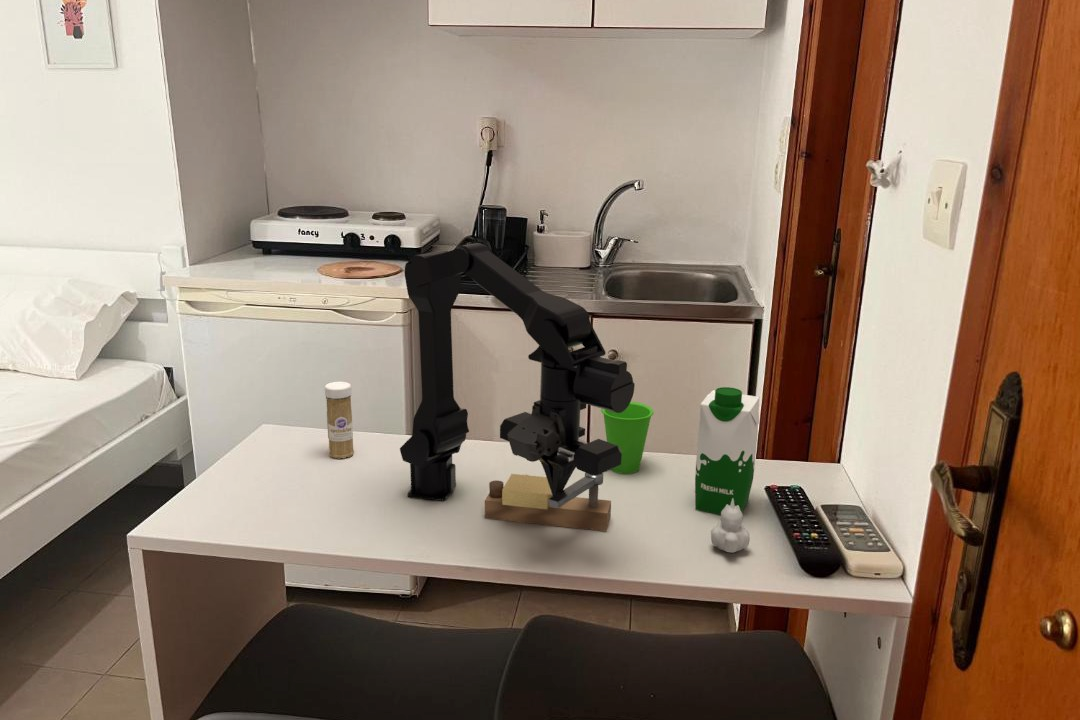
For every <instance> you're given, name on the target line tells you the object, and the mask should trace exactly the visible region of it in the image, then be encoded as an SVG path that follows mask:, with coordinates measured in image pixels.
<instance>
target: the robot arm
mask: <svg viewBox="0 0 1080 720" xmlns="http://www.w3.org/2000/svg"><path fill="white" fill-rule="evenodd" d="M466 276H467V277H468V278H470V279H471V280H472V281H473V282H475V283H476V284H477V285H478V286H480V287H481V288H482V289H484V290H485V291H486V292H488V293H489V294H490V295H491V296H493V297H494V298H496V300H498V301H499V302H500V303H501V304H503V305H505V307H506V308H508V309H509V310H511V311H512V313H514V314H516V315H517V316H518V318H520V319H521V320H522V322H523V325H524V329H525V331H526V332H527V334H528V336H530V337H531V339H532V340H533V341H534V342H535V343H536V344H537V345H538V347H537V348H536V349H535V350H533V351H532V352H531V353H530V354H528V355H527V358H528V360H529V361H534V362H538V363H540V390H539V391H540V393H539V400H536V401H533V405H532V408H531V410H532V411H531V413H530V412H527V411H523V412H520V413H518V414H515V415H512V416H509V417H505V418H504V419H503V421H502V422H501V423H500V426H499V439H502V440H505V441H507V442H509V445H510V450H511V453H512V455H514V456H516V457H520V458H523V459H525V460H527V461H529V462H532V463H534V462H537V461H539V462H540V464H541V466H542V468H543V472H544V473H545V477H547V480H548V483H549V486H550V489H551V492H552V495H553V496H554V495H556V494H557V493H559V492H561V491H562V490H564V489H565V488H566V486H567V484H568V482H569V480H570V478H571V476H572V474H573V473H574V471H575V469H577V470H578V471H581V472H583V473H584V474H585V473H588V474H590V475H599V474H601V473H603V474H604V473H605V472H608V471H609V470H612V468H614V467H617V466H619V465H621V458H622V452H621V449H620V448H619V447H618V446H617V445H614V444H612V443H609V442H607V440H603V439H600V438H597V439H594V440H592V441H590V442H587V441H586V440H582V439H580V438H581V437H583V436H585V435H586V428H584V427H582V426H580V423H581V422H580V420H581V411H582V410H585V409H587V405H588V406H592V407H595V408H599V409H605V410H609V411H612V412H616V413H621V412H623V411H624V410H626V408H627V407H628V406H629V404H630V402H632V399H633V396H634V393H635V385H636V384H635V382H634V378H633V376H632V374H631V372H630V371H628V362H627V361H624V360H620V359H619V360H618V359H616V360H615V359H610V358H605V357H603V356H606V353H607V352H606V350H605V348H604V347H603V344H602V343H601V340H600V339H599V337H598V335H597V333H596V331H595V329H594V327H593V325H592V322H591V319H590V318H591V315H590V314H589V312H588V310H586V309H585V308H584V306H582V305H580V304H577V303H576V302H574V301H571V300H569V299H567V298H566V297H563V296H562V297H561V296H559V295H555V294H550V293H548V292H546V291H544V290H542V289H541V288H540V287H538V286H537V285H535V284H534V283H533V282H531V281H530V280H529V279H528V278H526V277H525V276H523V275H522V274H521V273H519V272H518V271H517V270H516V269H514V268H513V267H511V266H510V265H509V264H507V263H506V262H504V261H503V259H501V258H500V257H498V256H497V255H495V253H493V252H491V250H490V248H489V247H488V245H485V244H483V243H480V242H479V243H477V242H476V243H470V244H463V245H460V246H457V247H456V248H454V249H451V250H441V251H440V250H439V251H435V252H429V253H427V252H426V253H422V254H415V255H413V256H411V257H410V258H409V260H408V261H406V263H405V266H404V279H405V280H404V281H405V285H406V290H407V296H408V297H409V299H410V300H411V302H412V303H413V305H414V307H415V308H416V309H417V313H418V329H419V352H420V355H419V356H420V372H421V373H420V378H421V396H422V397H421V402H420V403H419V406H418V408H417V410H416V412H415V414H414V417H413V422H412V423H413V424H412V432H411V433H412V435H411V436H410V437H409V438H408V439H407V440H406V441H405V442H404V443H403V445H401V446H400V448H399V451H400V456H401V459H402V461H403V462H405V463H407V464H409V468H410V469H409V470H410V471H409V473H410V489H409V490H408V492H407V497H408V498H415V499H424V500H434V501H446V500H447V498H448V497H449V496H450V494H451V493H452V492H453V491H454V490H455V488H456V486H457V482H456V480H457V478H456V477H457V476H456V475H457V474H456V472H457V471H456V464H455V463H453V455H454V454H458V453H460V450H461V447H462V444H463V443H464V442H465V440H466V439H467V434H468V433H470V430H469V426H468V415H469V412H468V410H467V409H466V408H461V407H460V405H459V404H458V401H456V399H455V396H454V372H453V371H454V366H453V365H454V364H453V339H452V338H453V337H452V335H453V334H452V333H453V332H452V308H453V307H454V304H455V302H456V300H457V298H458V296H459V294H460V292H461V282H462V277H466ZM580 345H582V346H583V347H581V348H578V349H575V350H572V351H570V350H569V349H571V348H574V347H577V346H580Z"/></svg>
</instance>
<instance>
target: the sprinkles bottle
mask: <svg viewBox="0 0 1080 720" xmlns="http://www.w3.org/2000/svg"><path fill="white" fill-rule="evenodd" d="M351 385H352V384H351V383H349V382H346V381H333V382H329V383H327V384H325V386H324V396H325V400H326V421H327V422H326V423H327V424H326V425H327V438H328V448H329V451H328V456H330V457H331V458H332V457H333V458H332V459H336V458H343V459H347V458H346V457H348V458H350V457H352V456H353V455H354V453H355V451H354V431H353V428H354V426H353V412H352V400H351V399H352V397H351V396H352V386H351Z"/></svg>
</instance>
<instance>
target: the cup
mask: <svg viewBox="0 0 1080 720" xmlns="http://www.w3.org/2000/svg"><path fill="white" fill-rule="evenodd" d="M600 409H601V410H600V412H601V413H602V414H603V419H604V428H605V429H604V430H605V435H606V442H609V443H612V444H614V445H617V446H618V447H619V448H620V449H621V452H622V458H621V465H619V466H617V467H614V468H612V469H611V470H612V471H613V472H615V473H617V474H622V475H632V474H635V473H637V472H638V471H639V469H640V468H641V463H642V458H643V455H644V450H645V445H646V440H647V436H648V431H649V426H650V423H651V417H652V416H653V415H654V410H653V408H652V407H651V406H649V405H646V404H644V403H640V402H635V401H631V402H630V404H629V406H628V407H627V408H626V410H624V411H623V412H621V413H616V412H612V411H609V410H605V409H602V408H600Z"/></svg>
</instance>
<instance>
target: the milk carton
mask: <svg viewBox="0 0 1080 720" xmlns="http://www.w3.org/2000/svg"><path fill="white" fill-rule="evenodd" d="M699 406H700V407H699V420H698V432H697V444H696V445H697V446H696V447H697V449H696V462H695V473H694V475H695V476H694V488H695V489H694V493H695V494H694V495H695V496H694V497H695V500H694V503H695V510H697V511H701V512H707V513H712V514H716V515H720V516H721V512H722V510H723V509H724V508H725V506H726V505H727V504H728V505H729V506H730V504H731V501H732V499H733V500H734V505H735V506H737V505H738V506H739V508H740V510H741V512H742V513H743V511H744V509H745V507H746V505H747V504H748V502H749V498H750V493H751V489H752V486H753V480H754V475H755V465H756V454H757V442H758V433H759V431H758V430H759V424H760V414H759V413H760V412H759V410H760V409H759V408H760V396H756V395H755V396H754V395H749V394H743V392H742V390H740V389H739V388H735V387H730V386H727V387H725V386H723V387H718V388H716V389H714V390H711V392H710V393H708V394H706V396H705V398H704V399H703V400H702V401H701V402H700V405H699Z"/></svg>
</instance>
